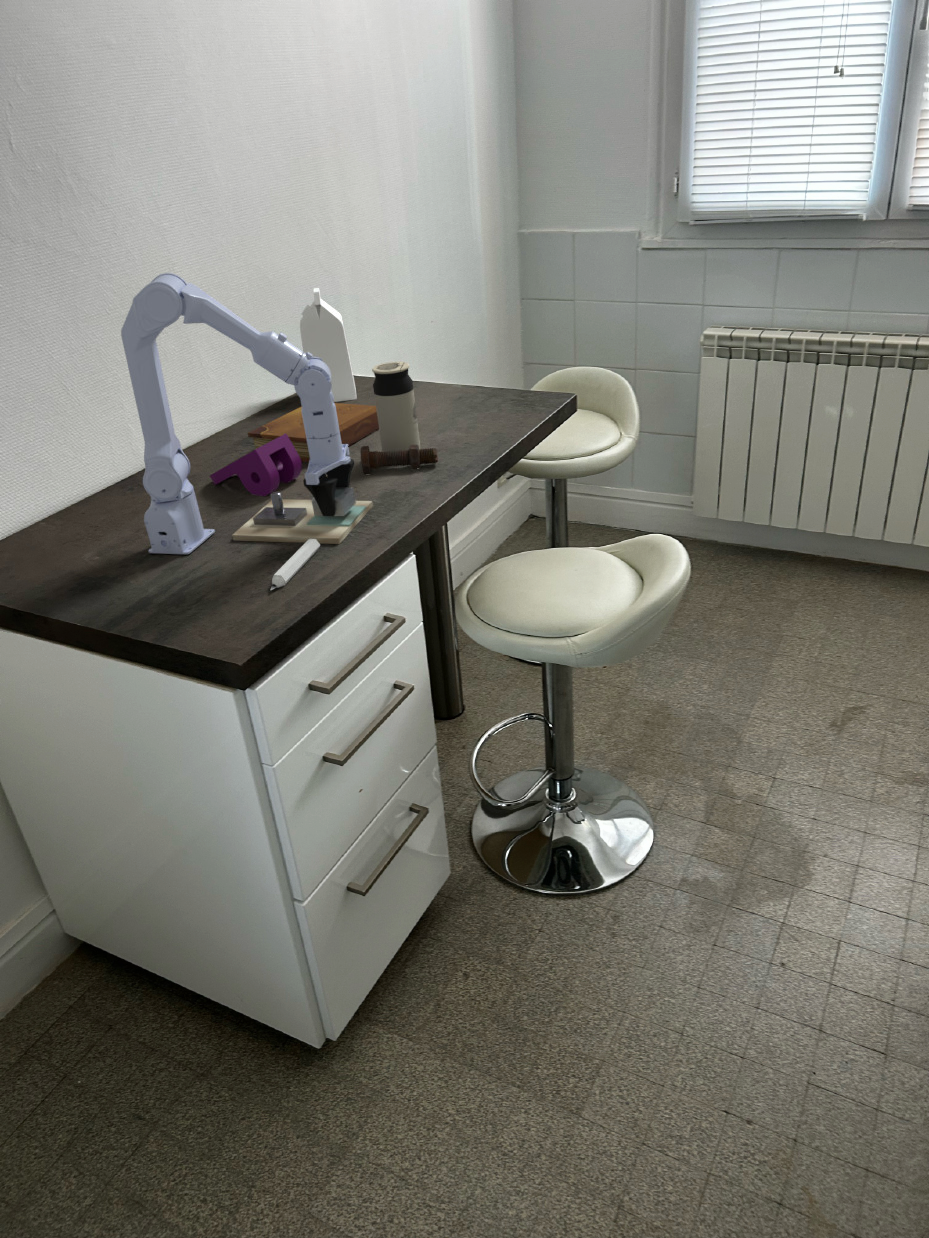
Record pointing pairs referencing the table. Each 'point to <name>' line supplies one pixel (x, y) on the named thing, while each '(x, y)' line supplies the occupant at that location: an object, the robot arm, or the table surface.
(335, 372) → the milk
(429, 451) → the bolt
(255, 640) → the table surface
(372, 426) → the diary
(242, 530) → the board
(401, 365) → the travel mug
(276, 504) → the peg base
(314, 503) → the square hollow frame
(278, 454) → the mounting bracket
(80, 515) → the table surface
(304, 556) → the marker
